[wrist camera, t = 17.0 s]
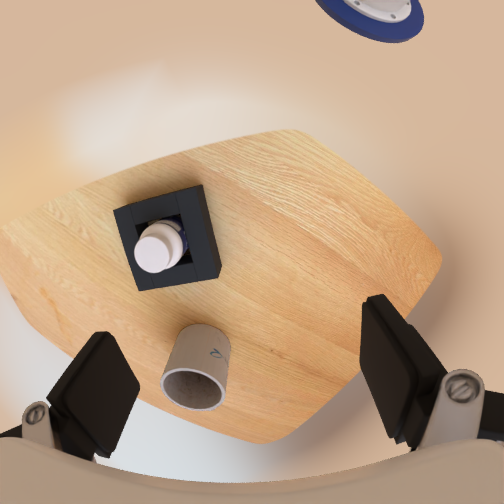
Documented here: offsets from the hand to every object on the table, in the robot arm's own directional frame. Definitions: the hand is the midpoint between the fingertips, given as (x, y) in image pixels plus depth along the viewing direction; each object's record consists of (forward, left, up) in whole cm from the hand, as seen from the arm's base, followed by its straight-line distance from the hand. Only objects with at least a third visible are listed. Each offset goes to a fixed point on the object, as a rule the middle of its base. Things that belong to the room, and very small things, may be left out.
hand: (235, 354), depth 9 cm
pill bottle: (+8, -6, -26) cm, 28 cm away
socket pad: (+8, -6, -26) cm, 28 cm away
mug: (+22, +8, -26) cm, 35 cm away
